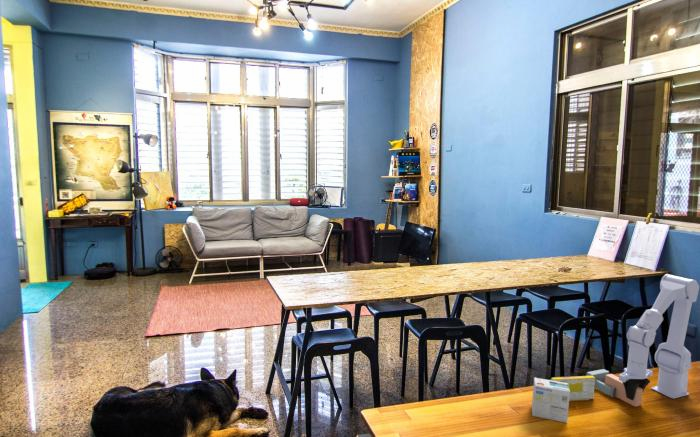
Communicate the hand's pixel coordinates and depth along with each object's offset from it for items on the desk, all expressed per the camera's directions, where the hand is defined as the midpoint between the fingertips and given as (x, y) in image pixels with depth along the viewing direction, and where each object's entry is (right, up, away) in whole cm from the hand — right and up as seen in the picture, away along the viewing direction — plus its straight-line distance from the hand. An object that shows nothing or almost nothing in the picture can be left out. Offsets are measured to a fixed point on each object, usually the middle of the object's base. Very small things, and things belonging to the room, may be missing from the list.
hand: (633, 397), depth 157 cm
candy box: (-21, -1, +1) cm, 21 cm away
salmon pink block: (-2, -1, +4) cm, 4 cm away
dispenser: (-4, -1, +10) cm, 10 cm away
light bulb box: (-34, -2, -9) cm, 35 cm away
